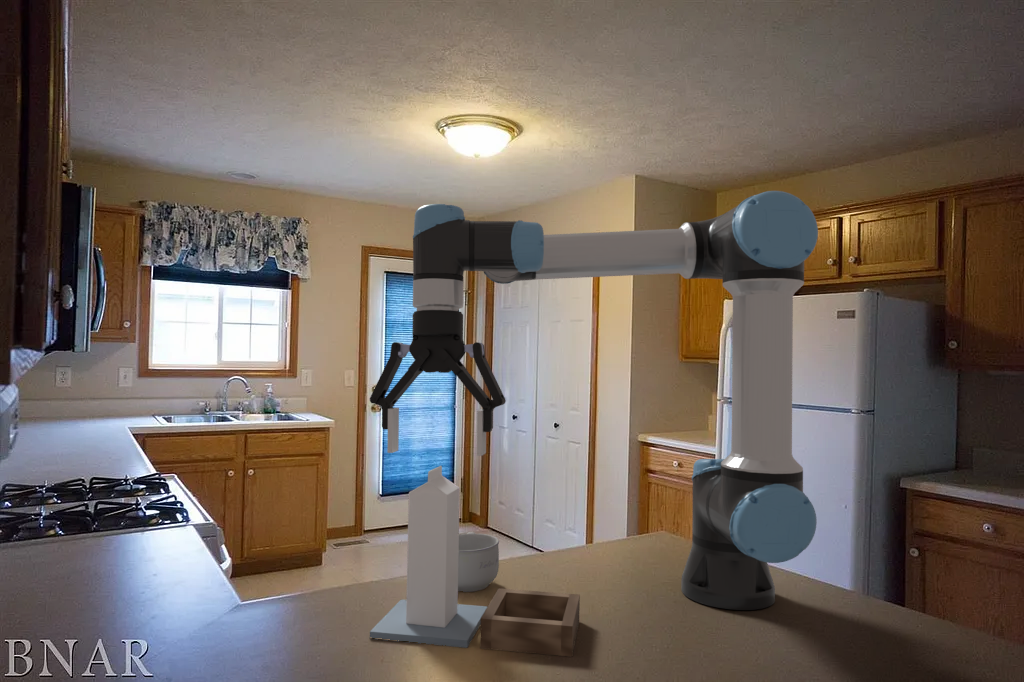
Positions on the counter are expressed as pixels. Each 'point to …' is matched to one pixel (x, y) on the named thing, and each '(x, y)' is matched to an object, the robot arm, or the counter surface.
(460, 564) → the teacup
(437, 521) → the milk
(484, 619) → the frame
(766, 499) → the robot arm
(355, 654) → the counter surface
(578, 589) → the counter surface
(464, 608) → the board
